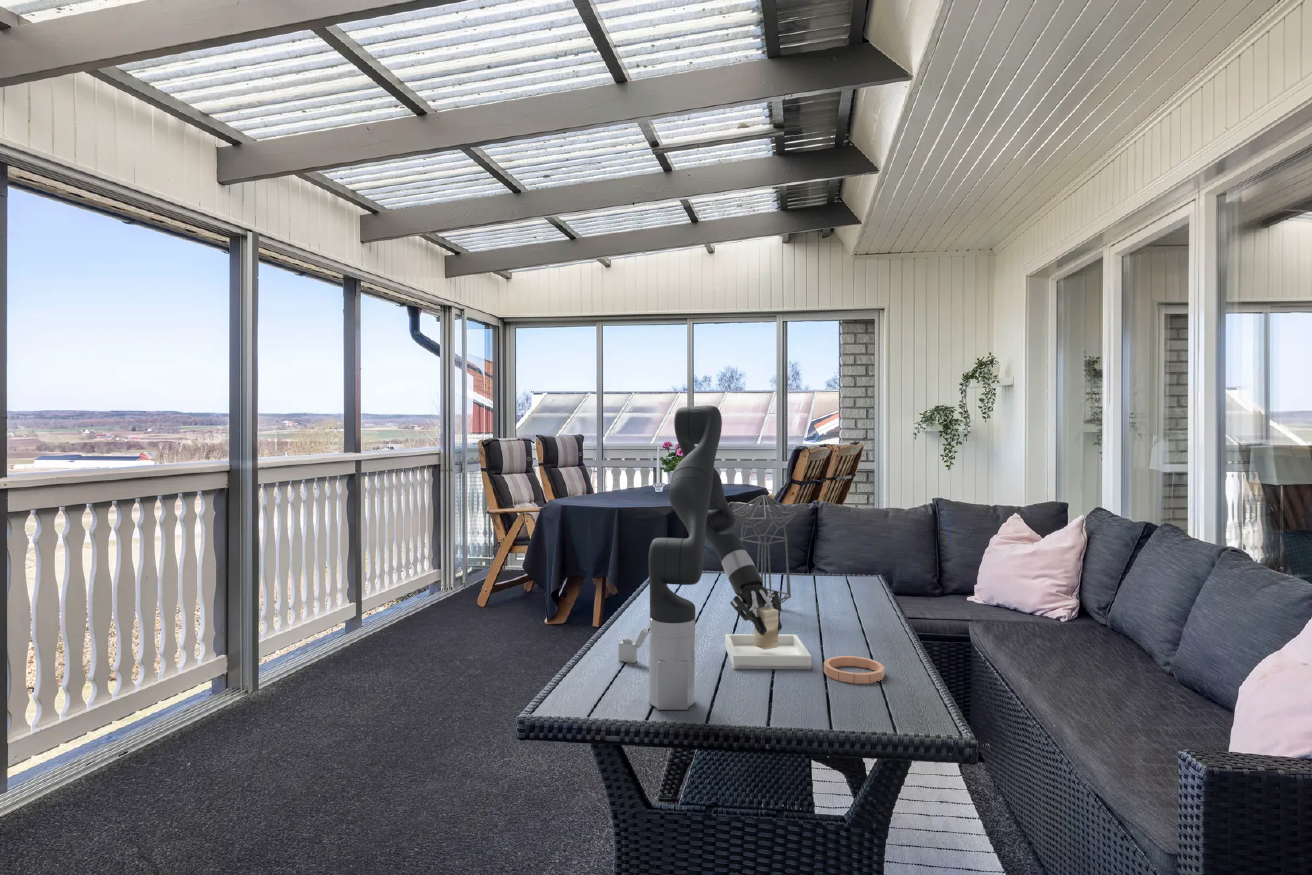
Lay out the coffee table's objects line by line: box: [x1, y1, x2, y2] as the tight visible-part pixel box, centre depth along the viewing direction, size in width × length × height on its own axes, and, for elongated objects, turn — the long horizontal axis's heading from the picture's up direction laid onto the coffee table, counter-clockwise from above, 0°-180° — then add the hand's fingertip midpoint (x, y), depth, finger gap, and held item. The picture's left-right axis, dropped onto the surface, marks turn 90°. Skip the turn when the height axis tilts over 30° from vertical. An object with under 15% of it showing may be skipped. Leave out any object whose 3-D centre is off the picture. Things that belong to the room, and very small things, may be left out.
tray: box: [724, 633, 813, 670], centre depth 188 cm, size 18×18×3 cm
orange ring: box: [823, 655, 886, 685], centre depth 176 cm, size 13×13×2 cm
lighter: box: [618, 628, 650, 664], centre depth 183 cm, size 7×2×8 cm, turn 69°
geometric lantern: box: [732, 494, 798, 607], centre depth 233 cm, size 16×16×35 cm
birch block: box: [753, 607, 779, 650], centre depth 188 cm, size 4×4×9 cm
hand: (771, 631), depth 186 cm, fingers closed on birch block, 4 cm apart
